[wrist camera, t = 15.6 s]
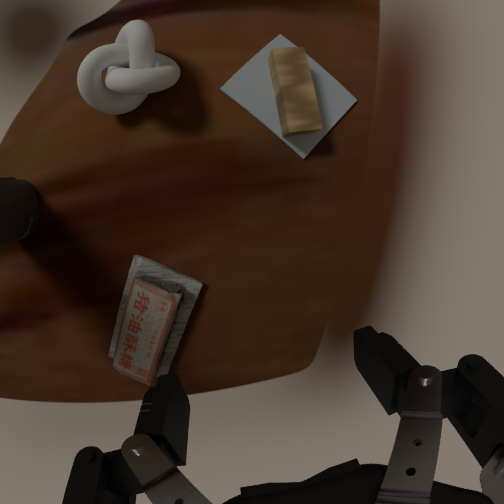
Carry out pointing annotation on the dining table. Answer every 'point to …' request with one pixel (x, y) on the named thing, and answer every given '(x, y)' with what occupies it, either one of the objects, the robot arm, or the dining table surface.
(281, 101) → the oak block
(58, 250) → the dining table surface
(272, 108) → the felt mat
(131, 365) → the packaged product
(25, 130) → the dining table surface
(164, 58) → the white decorative knot
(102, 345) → the dining table surface
